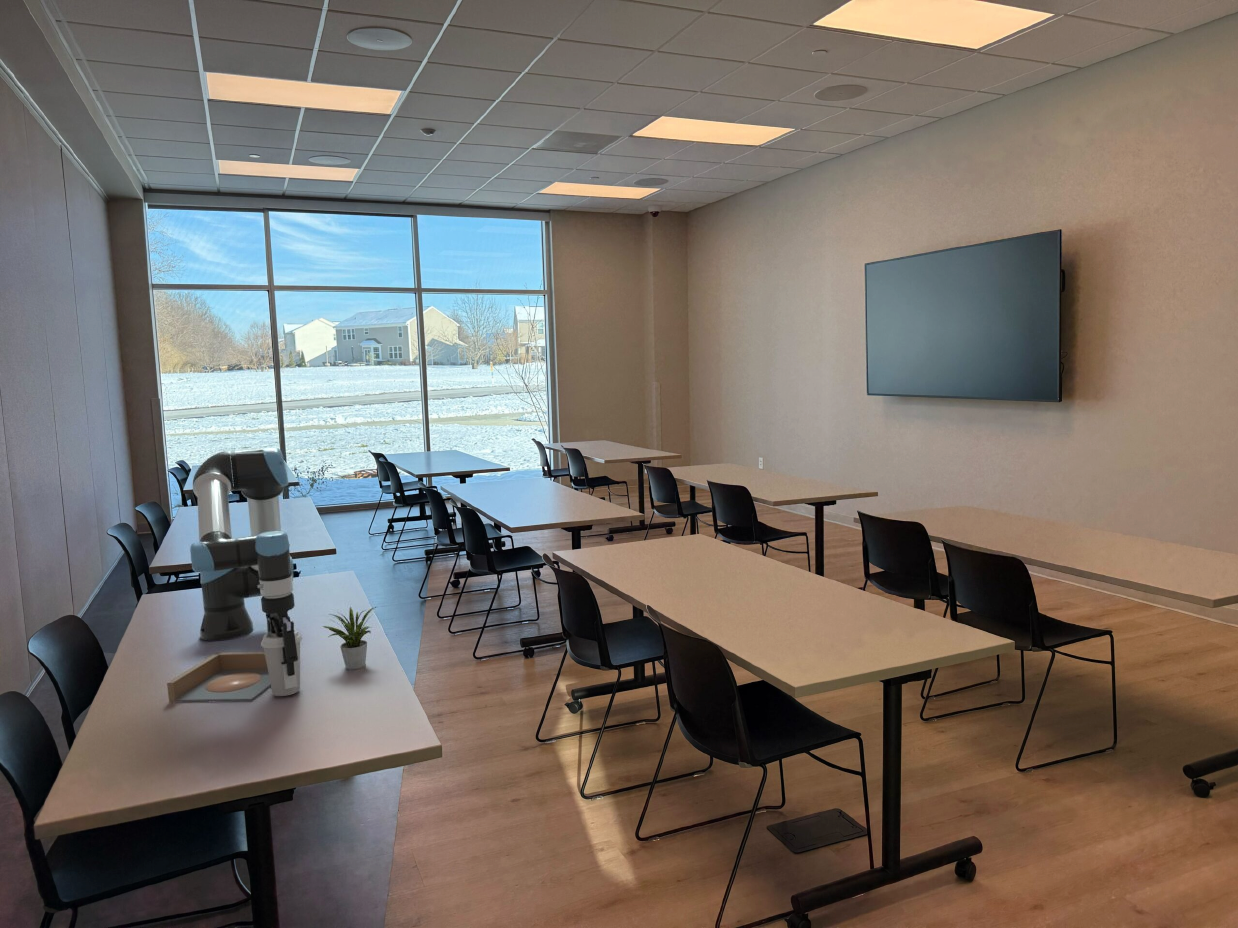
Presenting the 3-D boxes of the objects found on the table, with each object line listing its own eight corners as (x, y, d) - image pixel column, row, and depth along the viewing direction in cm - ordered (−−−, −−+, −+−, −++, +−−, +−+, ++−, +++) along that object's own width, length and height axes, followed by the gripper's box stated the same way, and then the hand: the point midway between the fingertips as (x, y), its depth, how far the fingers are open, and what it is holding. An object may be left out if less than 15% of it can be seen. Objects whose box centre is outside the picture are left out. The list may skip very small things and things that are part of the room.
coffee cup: (265, 687, 208) (260, 631, 206) (305, 680, 211) (300, 624, 209) (265, 701, 199) (259, 642, 197) (307, 693, 203) (302, 635, 201)
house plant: (363, 652, 234) (359, 596, 232) (395, 660, 226) (390, 602, 224) (320, 668, 223) (315, 610, 221) (352, 677, 215) (346, 617, 213)
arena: (218, 670, 225) (216, 652, 224) (293, 668, 223) (291, 651, 222) (169, 702, 203) (166, 682, 203) (251, 700, 201) (249, 681, 201)
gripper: (249, 589, 207) (257, 676, 210) (274, 605, 192) (283, 698, 195) (279, 583, 212) (287, 668, 215) (306, 598, 197) (315, 689, 199)
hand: (285, 682), depth 205 cm, fingers closed on coffee cup, 7 cm apart
